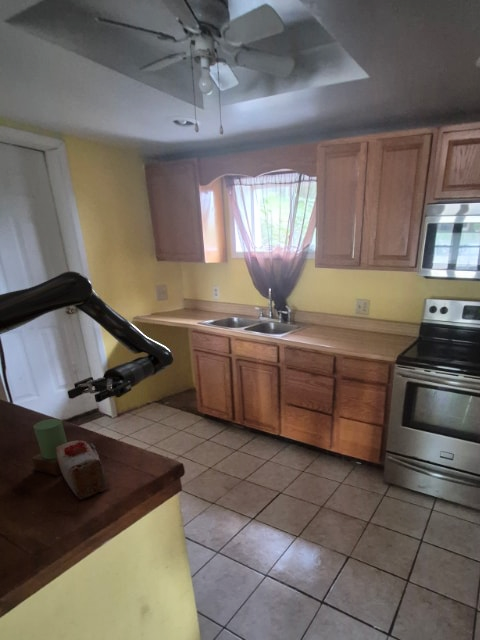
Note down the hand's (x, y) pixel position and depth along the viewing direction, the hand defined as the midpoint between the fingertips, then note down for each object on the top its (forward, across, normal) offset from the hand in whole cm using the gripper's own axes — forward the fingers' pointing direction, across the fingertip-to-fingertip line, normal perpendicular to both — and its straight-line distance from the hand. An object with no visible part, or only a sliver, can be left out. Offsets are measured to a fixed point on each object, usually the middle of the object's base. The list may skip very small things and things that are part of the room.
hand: (82, 397), depth 96 cm
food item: (+15, +11, +14) cm, 24 cm away
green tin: (+11, 0, +10) cm, 15 cm away
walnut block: (+11, 0, +14) cm, 18 cm away
